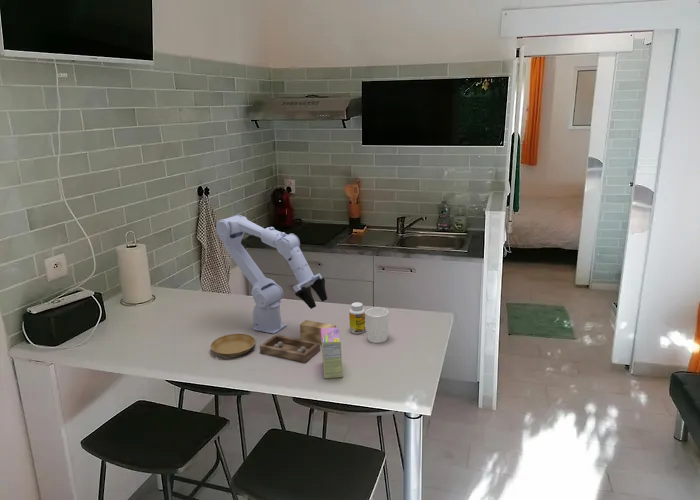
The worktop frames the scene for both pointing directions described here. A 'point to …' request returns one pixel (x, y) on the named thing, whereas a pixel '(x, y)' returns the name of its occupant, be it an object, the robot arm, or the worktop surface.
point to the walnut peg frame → (290, 348)
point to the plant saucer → (233, 345)
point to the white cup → (377, 324)
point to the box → (331, 352)
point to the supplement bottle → (357, 318)
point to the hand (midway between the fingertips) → (319, 304)
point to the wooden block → (313, 330)
